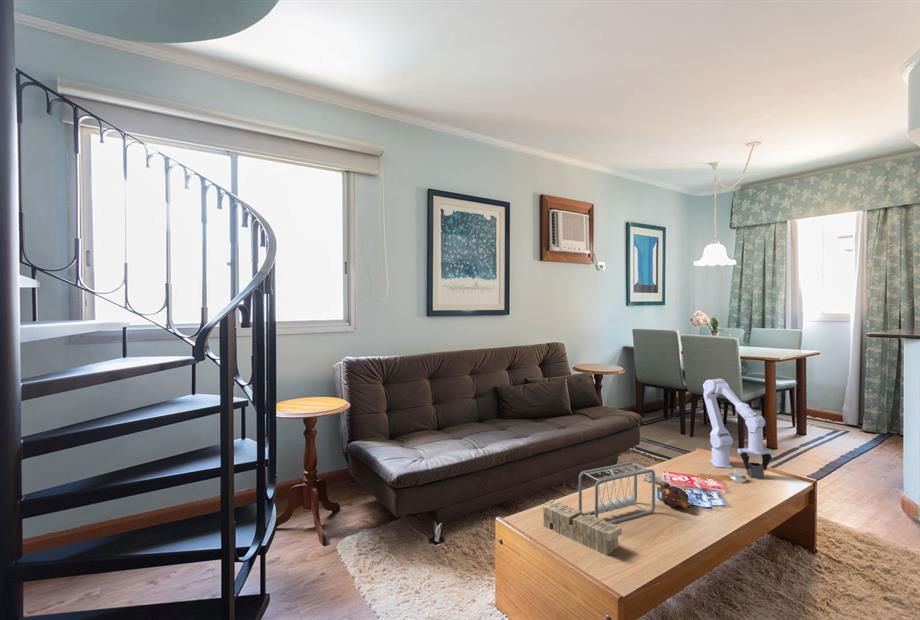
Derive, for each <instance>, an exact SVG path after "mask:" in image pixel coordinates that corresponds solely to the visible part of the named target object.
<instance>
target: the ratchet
mask: <svg viewBox="0 0 920 620" xmlns="http://www.w3.org/2000/svg"><path fill="white" fill-rule="evenodd" d="M732 469H733V472H732V473H728V475H727V474H725V475H724V474H711V473H710V474H709V473H698V474H697V476H699V477H700V478H708V479H707V480H709V479H719V480H718V481H724V480H725V481H724V482H726V480H727V482H733V481H734V482H733V483H736V482H737V484H745V482H747V479H746V478H747V477H746V476H745V475H743V474H742V469H740V468H736V467H733V468H732ZM699 477H698V478H699ZM700 478H699V479H700Z"/></svg>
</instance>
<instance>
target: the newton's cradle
mask: <svg viewBox="0 0 920 620" xmlns="http://www.w3.org/2000/svg"><path fill="white" fill-rule="evenodd" d="M629 467H633V468H632V471H629V469H628V468H629ZM638 467H639V468H642V469H638ZM623 468H626V469H627V470H626V472H625V473H622V472H621V470H622V469H623ZM618 469H619V471H620V472H618V471H617V470H618ZM608 471H613V472H617V473H618V474H614V473H612V475H611V476H608V475H607V472H608ZM603 472H604V474H605V475H604V476H603V477H600V478H599V477H598V478H596V477H594V476H592V475H595V474H600V473H603ZM649 472H650V473H652V479H651V509H650V510H648V509H646V508H644V507H642V506H641V505H639V504H637V501H638V476H639V475H644V474H645V473H649ZM584 475H586V476H589V477H590V478H592V479H593V480H596V482H595V485H594V510H590V511H585V512H583V511H582V509H583V507H582V506H583V491H582V490H583V488H582V487H583V486H582V483H583V482H582V478H583V476H584ZM655 475H656V472H655V471H654V469H652V468H651V469H648V468H647V467H644V466H641V465H639V464H637V463H636V462H635V461H629V462H623V463H618V464H614V465H609V466H603V467H597V468H593V469H587V470H583V471H581V472H580V473H579V475H578V510H579V511H581V515H582V516H586V515H588V514H590V515H594V517H597V518H599V514H604V513H606V512H607V511H608V512H613V511H614V510H620V509H622V508H624V509H625V508H626V509H627V508H628V507H629V506H632V507H633V506H637V507H639V508H640V509H643V512H638V513H637V514H636V513H635V514H632V515H628V516H623V517H620V518H617V519H612V520H609V521H607V522H609V523H612V524H617V523H622V522H625V521H628V520H629V521H630V520H633V519H636V518H640V517H642V516H647V515H651V514H653V513H654V512H655V509H656V481H655ZM630 477H633V487H632V488H633V490H632V491H631V489H629V491H630V495H628V496H627V497H626V495H627V493H625V495H624V492H622V494H623V497H621V498H620V499H619V495H620V493H618V495H617V496H615V499H613V500H612V498H610V496H612V493H613V491H611V492H610V493H611V494H610V496H609V494H607V498H608V499H609V500H607V501H605V503H603V501H604V498H602V500H601V498H599V494H601V492H600V491H601V490H600V488H599V486H600V484H602V483H605V484H604V485H607V484H608V482H613V484H612V485H611V486H612V487H611V489H614V488H613V487H614V486H616V482H615V481H616V480H619V481H620V483H619V484H621V486H619V488H618V491H620V490H621V489H620V488H621V487H622V490H624V487H623V484H622V482H623V480H622V479H625V478H627V479H630ZM626 485H629V486H631V484H630V481H627V483H626ZM606 488H607V491H609V489H608V486H604V489H603V491H605V490H606ZM625 489H626V491H625V492H627V491H628V487H626V488H625ZM614 490H615V494H617V491H616V489H614ZM632 492H633V493H632ZM604 495H605V492H603V495H602V497H604ZM611 500H612V501H611ZM644 510H645V511H644Z"/></svg>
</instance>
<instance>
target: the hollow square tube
mask: <svg viewBox="0 0 920 620" xmlns="http://www.w3.org/2000/svg"><path fill="white" fill-rule="evenodd" d="M764 472H765V470H764V467H763V466H762V463H760V462H751V461H748V469H746V475H747V474H748V475H749V476H750V477H751V478H757V479H756V480H765V473H764ZM748 475H747V476H748ZM749 476H748V477H749ZM750 477H749V478H750Z"/></svg>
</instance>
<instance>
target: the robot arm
mask: <svg viewBox="0 0 920 620" xmlns="http://www.w3.org/2000/svg"><path fill="white" fill-rule="evenodd" d="M702 388H703V399H704V403H705V406H706V410H707V413H708V418H709V421H710V425H711V428H712V429H711V432H710V433H709V435H710V438H709V441H710V444H711V446H712V447H711V459H709V462H710V463H711V464H712V465H713V466H714V467H715V468H727V469H728V468H729V469H730V468H731V469H733V468H734V467H733V465H731V463H730V457H731V455H730V453H731V452H730V449H731V446H733V444H734V440H733V437H732V436H731V434H730V432H729V430H728V429H726V428H725V425H724V421H723V418H722V414H721V410H720V407H719V404H718V400H717V398H718V396H719V395H723V396H724V397H725V398H727V400H728V401H729V402H730V403H732V404H733V405H734V407H735V411H736V412H737V413H738V414H739V415H740V416H741V417H742V419H744V421H745V426H747V431H748V432H747V433H748V434H747V435H748V436H747V437H748V438H747V442H748V445H747V447H748V448H747V447H746V448H745V447H744V448H738V449H737V453H738V454H739V455H740V456H741V459H742V461H743V465H744V468H745V469H746V470H747V469H748V462H750V456H749V455H761V459H762V460H761V461H762V463H761V465H762V466H763V467H764V471H767V468H768V466H769V464H770V462H771V461H772V458H773V456H774V451H773V450H771V449H764V447H763V442H764V441H763V438H764V436H763V433H764V432H763V431H764V430H763V429H764V427H765V425H766V419H765V418H764V417H763V416H762V415H760V414H758V413H757V412H755V411H754V410H753V409H752V408H751V407H750V404H749V403H746V402H742V400H740V399H739V397H738V396H737V395H736V393H734V391H733V390H732V389H731V388H730V386H729V383H727V382H726V380H725V379H723V378H715V379H707V380H705V381H704V383H703V384H702Z"/></svg>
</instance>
